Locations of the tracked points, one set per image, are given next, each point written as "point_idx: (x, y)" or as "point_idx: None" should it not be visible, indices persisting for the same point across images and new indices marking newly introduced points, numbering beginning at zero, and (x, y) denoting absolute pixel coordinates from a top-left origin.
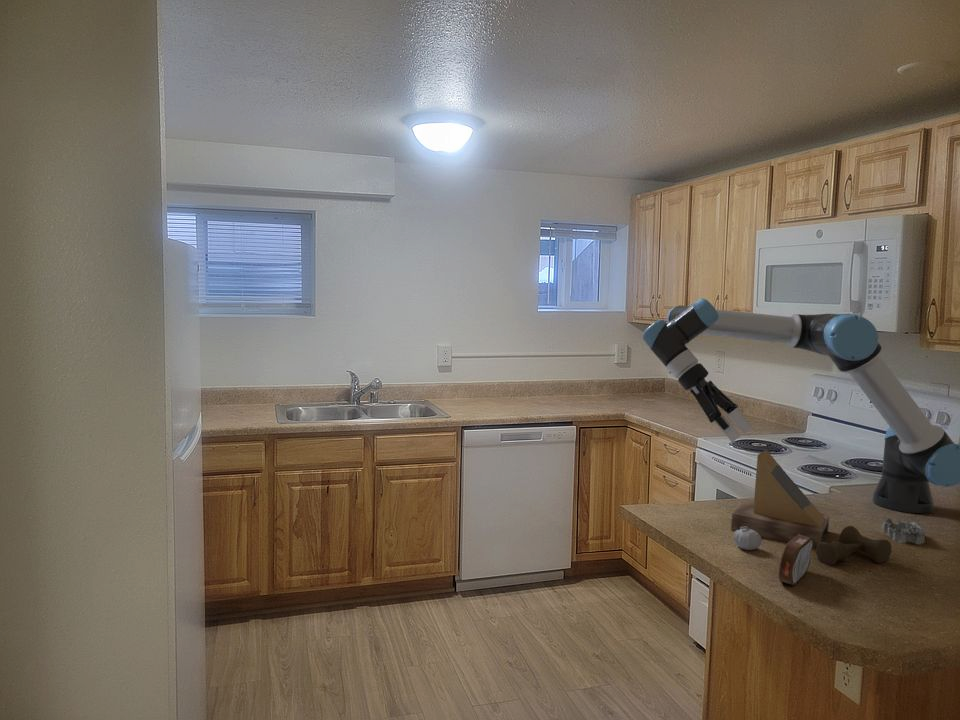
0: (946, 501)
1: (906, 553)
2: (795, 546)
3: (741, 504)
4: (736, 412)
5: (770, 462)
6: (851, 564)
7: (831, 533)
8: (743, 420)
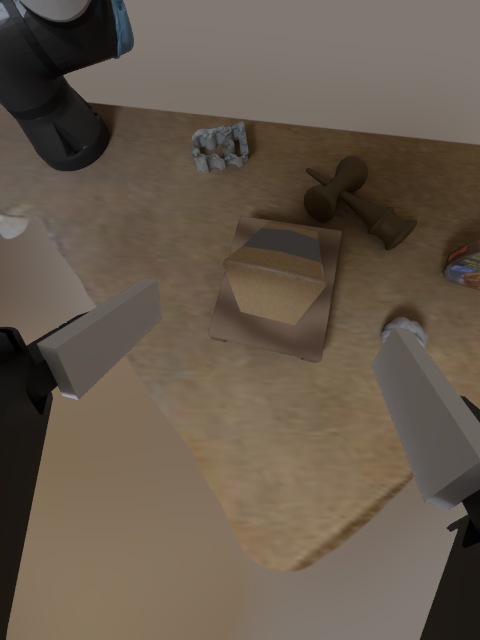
0: None
1: (289, 159)
2: None
3: (247, 344)
4: (80, 343)
5: (295, 260)
6: None
7: None
8: (126, 309)
